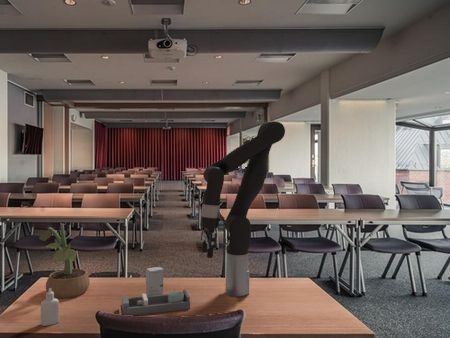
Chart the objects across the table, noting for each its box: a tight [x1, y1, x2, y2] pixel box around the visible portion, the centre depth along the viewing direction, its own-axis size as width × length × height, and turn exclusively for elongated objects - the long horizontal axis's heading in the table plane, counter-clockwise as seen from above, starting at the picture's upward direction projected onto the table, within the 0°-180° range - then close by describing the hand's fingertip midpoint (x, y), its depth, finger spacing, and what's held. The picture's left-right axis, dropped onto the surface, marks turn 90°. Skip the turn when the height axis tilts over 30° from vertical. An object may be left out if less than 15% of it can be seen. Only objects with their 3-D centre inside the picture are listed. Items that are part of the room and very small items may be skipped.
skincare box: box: [145, 266, 165, 296], centre depth 154 cm, size 6×4×12 cm
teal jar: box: [167, 291, 184, 303], centre depth 146 cm, size 6×6×4 cm
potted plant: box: [38, 223, 91, 299], centre depth 156 cm, size 22×18×30 cm
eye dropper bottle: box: [40, 288, 60, 327], centre depth 130 cm, size 4×6×12 cm
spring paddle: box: [137, 292, 148, 306], centre depth 142 cm, size 3×7×4 cm, turn 18°
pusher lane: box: [121, 289, 191, 316], centre depth 144 cm, size 24×10×5 cm, turn 108°
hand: (206, 254), depth 157 cm, fingers open, 8 cm apart
